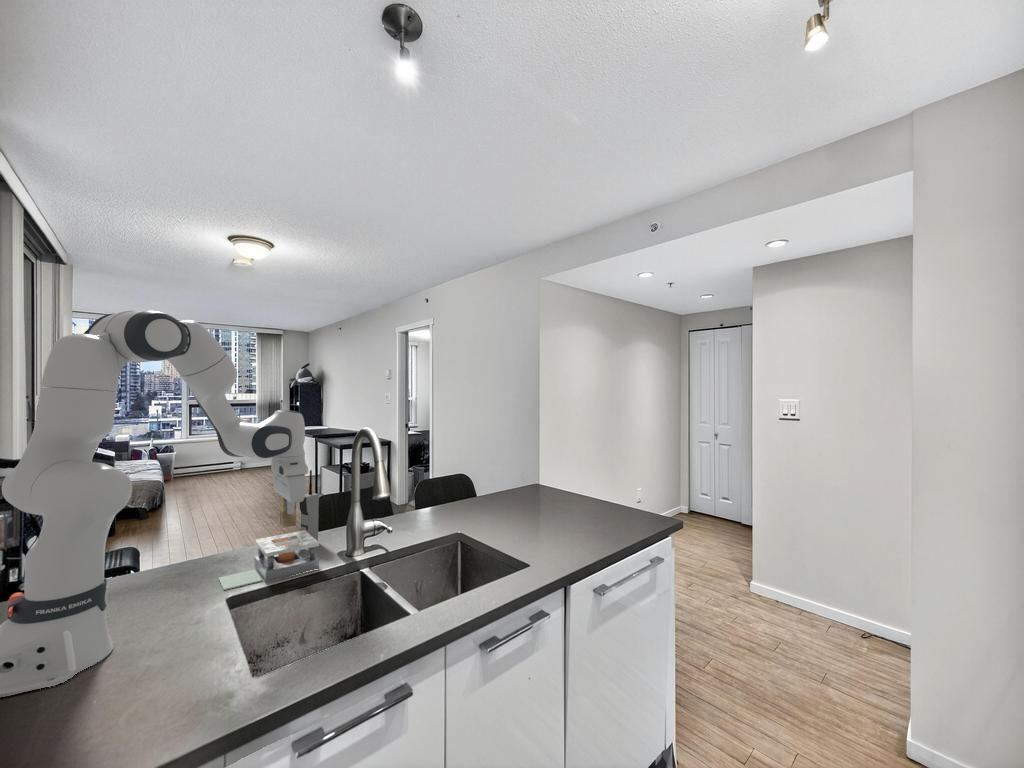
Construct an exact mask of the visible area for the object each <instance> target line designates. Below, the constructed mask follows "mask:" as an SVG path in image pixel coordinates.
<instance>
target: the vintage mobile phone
mask: <svg viewBox="0 0 1024 768" xmlns="http://www.w3.org/2000/svg"><path fill="white" fill-rule="evenodd" d="M312 474H313V471H312V469H311V470H309V484H308V493H305V497H304V500H303V501H302V502H298V503H299V505H298V506H299V511H300V531H303V530H305V531H306V532H308V533H309V534H310V535H311V536H312V537H313V538H315V539H316V540H317V541H318V542H319V511H320V509H319V506H320V503H319V501H320V496H319V495H320V494H318V493H314V492H313V488H312V487H313V483H312V478H313V475H312Z"/></svg>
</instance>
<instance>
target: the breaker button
mask: <svg viewBox="0 0 1024 768" xmlns="http://www.w3.org/2000/svg"><path fill="white" fill-rule="evenodd" d="M289 544H292V543H291V542H290V543H282V544H280V545H279V546H284V545H289ZM294 559H295V551H293V552H288V553H283V554H279V555H278V562H281V563H283V562H288V561H292V560H294Z"/></svg>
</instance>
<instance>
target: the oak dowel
mask: <svg viewBox="0 0 1024 768" xmlns="http://www.w3.org/2000/svg"><path fill="white" fill-rule="evenodd" d="M279 495H280V494H279ZM286 507H287V500H286V499H285V498H284V497H283V496H281V495H280V497H279V526H280V527H281V528H283V529H285V528H291V527H295V526H297V503H295V507H294V513H293V514H288V513H287V512H286Z"/></svg>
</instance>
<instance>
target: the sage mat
mask: <svg viewBox="0 0 1024 768" xmlns="http://www.w3.org/2000/svg"><path fill="white" fill-rule="evenodd" d="M217 579H218V582H219V584H220V587H221V588H222V590H223V591H224V590H225V591H228V589H229V590H232V588H233V589H237V588H240V586H241V587H245V586H249V585H253V583H254V584H257V582H258V583H261V581H262V582H263V578H262V577H261V575H260V574H259V572H258V571H257V570H256V569H250V570H246V571H242V572H238V573H233V574H228V575H223V576H220V577H217ZM248 584H249V585H248ZM236 587H237V588H236Z"/></svg>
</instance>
